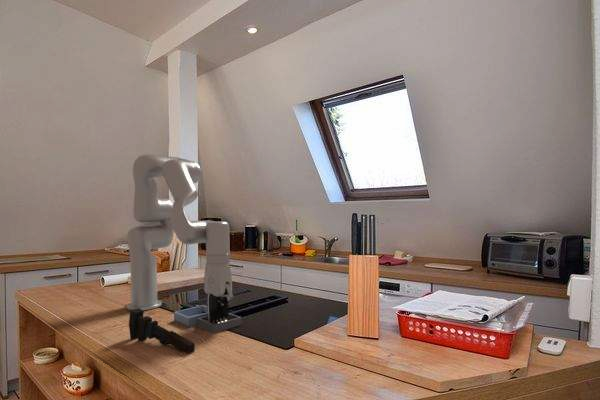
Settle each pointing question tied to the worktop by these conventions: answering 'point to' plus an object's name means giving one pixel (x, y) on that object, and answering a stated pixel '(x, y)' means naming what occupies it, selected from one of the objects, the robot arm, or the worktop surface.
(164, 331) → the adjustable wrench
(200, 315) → the parts tray
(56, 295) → the worktop surface
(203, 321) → the socket frame
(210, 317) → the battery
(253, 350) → the worktop surface
